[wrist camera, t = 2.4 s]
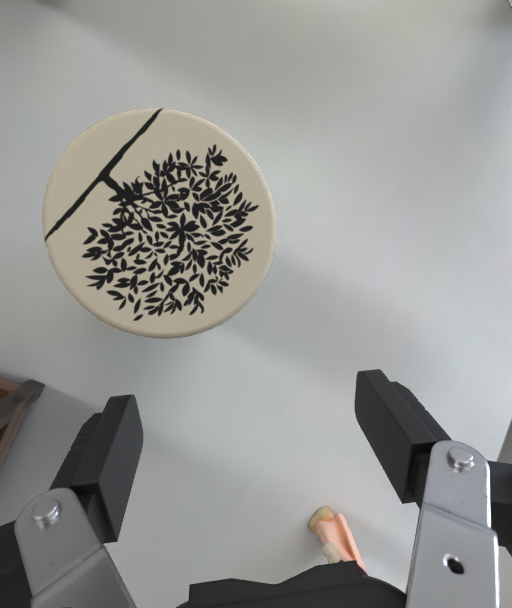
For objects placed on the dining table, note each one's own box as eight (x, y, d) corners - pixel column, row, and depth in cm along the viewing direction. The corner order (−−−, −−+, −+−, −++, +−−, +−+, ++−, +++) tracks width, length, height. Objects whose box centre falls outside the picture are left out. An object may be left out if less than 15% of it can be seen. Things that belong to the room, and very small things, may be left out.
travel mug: (245, 260, 30) (328, 240, 12) (177, 322, 29) (159, 395, 11) (183, 187, 28) (174, 43, 11) (109, 250, 28) (-33, 208, 10)
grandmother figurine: (363, 528, 34) (461, 672, 22) (338, 558, 34) (423, 721, 22) (310, 486, 33) (384, 614, 20) (284, 517, 33) (343, 666, 20)
